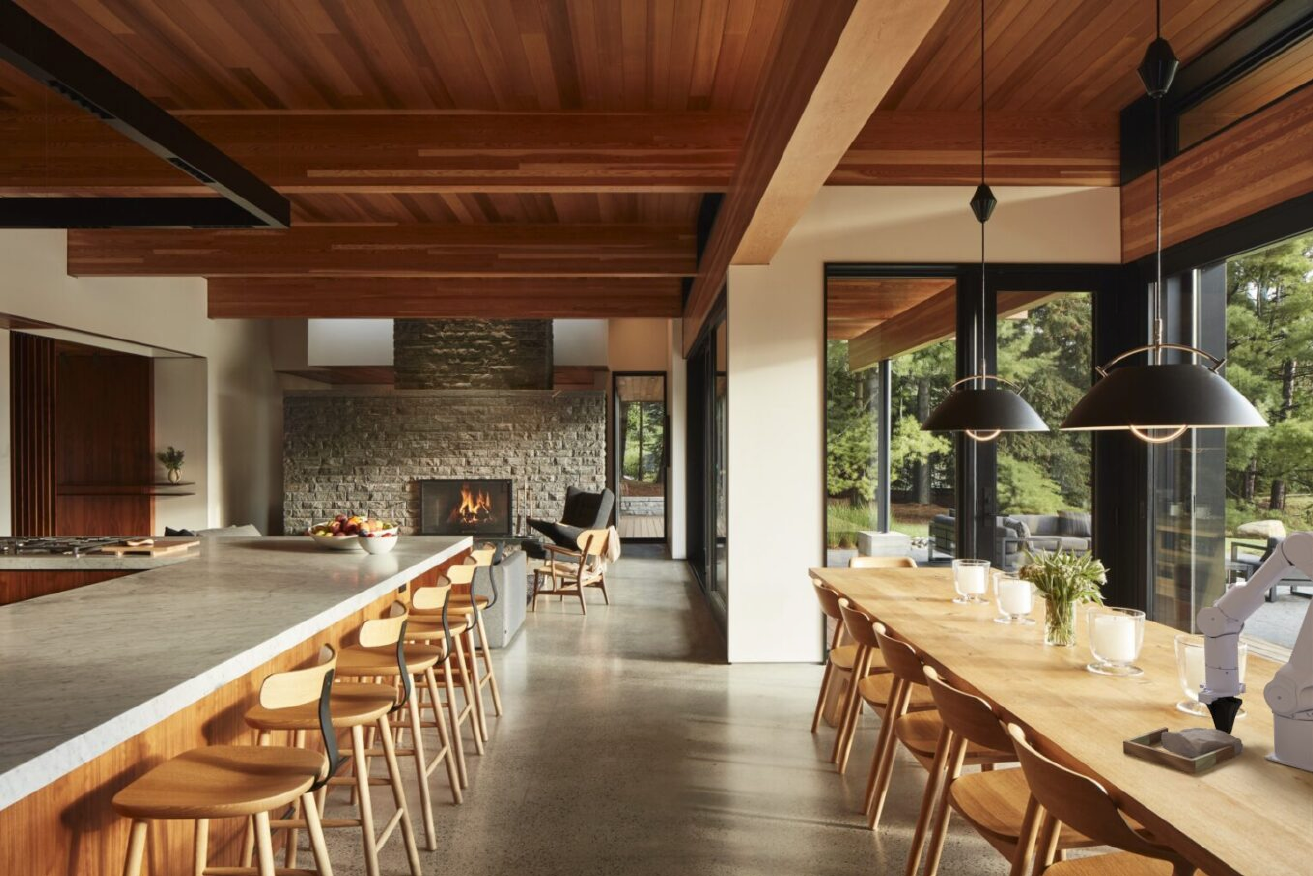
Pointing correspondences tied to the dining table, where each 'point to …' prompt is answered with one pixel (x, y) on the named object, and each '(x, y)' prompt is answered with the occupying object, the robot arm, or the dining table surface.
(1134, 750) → the guide slot
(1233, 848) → the dining table surface
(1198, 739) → the stone block
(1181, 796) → the dining table surface
